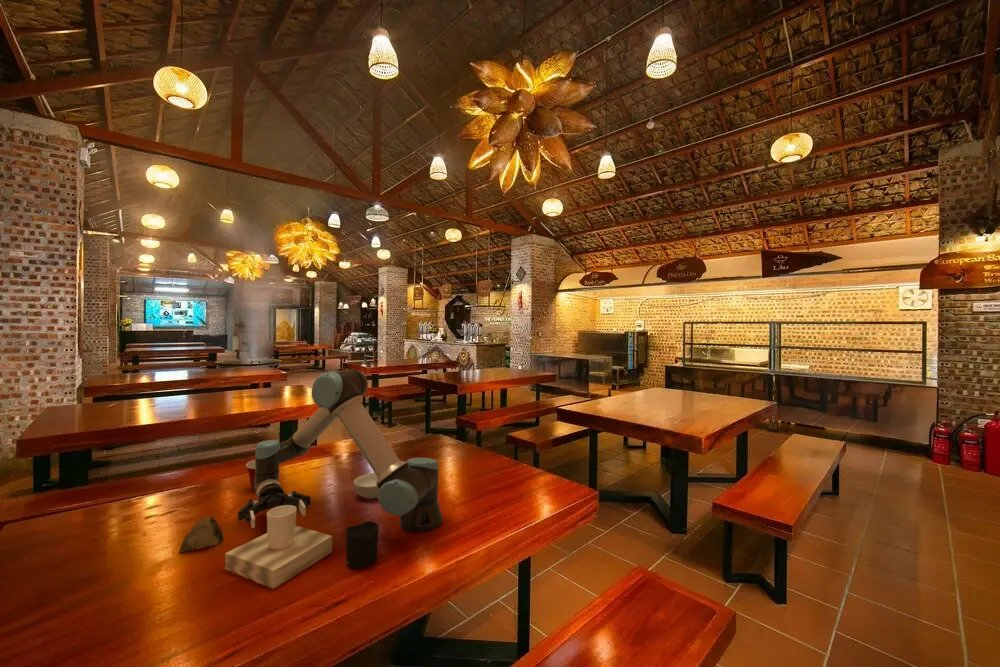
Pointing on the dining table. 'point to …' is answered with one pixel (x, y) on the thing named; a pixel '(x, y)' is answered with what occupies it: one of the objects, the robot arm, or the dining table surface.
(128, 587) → the dining table surface
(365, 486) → the cereal bowl
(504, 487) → the dining table surface
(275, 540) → the white cup
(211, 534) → the rock
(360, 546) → the pen holder
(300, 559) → the birch plinth
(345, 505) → the dining table surface
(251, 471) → the plastic cup
